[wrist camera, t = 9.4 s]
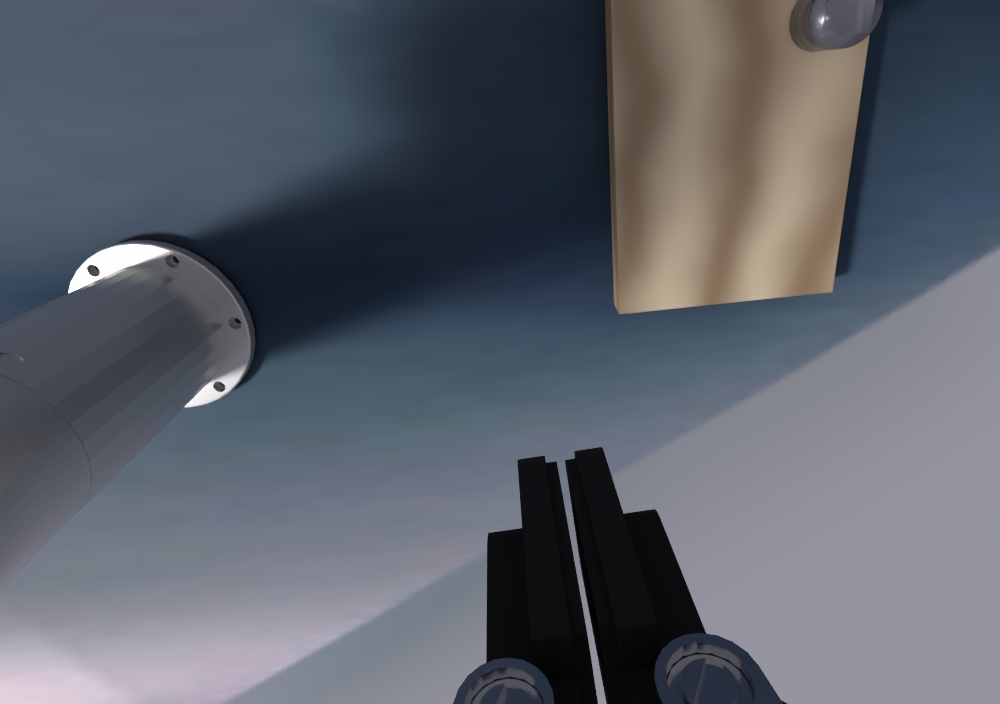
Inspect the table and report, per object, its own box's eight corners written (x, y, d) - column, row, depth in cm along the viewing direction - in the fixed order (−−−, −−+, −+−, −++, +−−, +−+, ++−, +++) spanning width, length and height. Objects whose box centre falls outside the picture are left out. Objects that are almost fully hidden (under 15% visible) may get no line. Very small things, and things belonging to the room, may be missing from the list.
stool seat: (614, 304, 39) (628, 331, 35) (603, -34, 31) (620, -55, 26) (816, 282, 39) (858, 308, 34) (863, -70, 30) (926, -98, 26)
